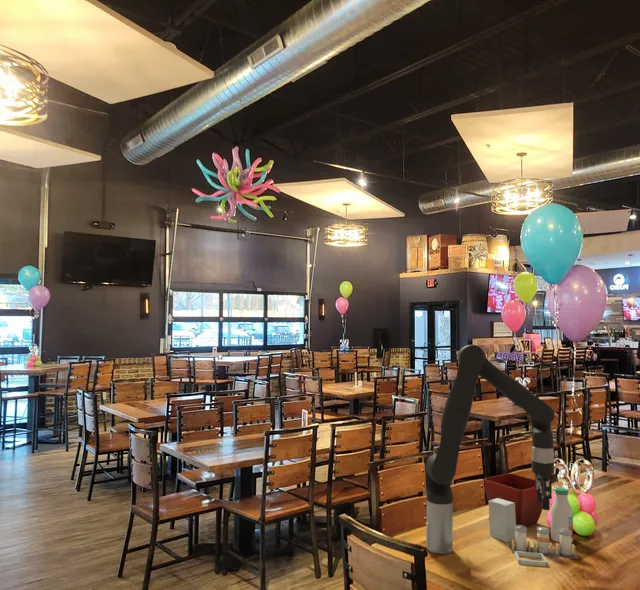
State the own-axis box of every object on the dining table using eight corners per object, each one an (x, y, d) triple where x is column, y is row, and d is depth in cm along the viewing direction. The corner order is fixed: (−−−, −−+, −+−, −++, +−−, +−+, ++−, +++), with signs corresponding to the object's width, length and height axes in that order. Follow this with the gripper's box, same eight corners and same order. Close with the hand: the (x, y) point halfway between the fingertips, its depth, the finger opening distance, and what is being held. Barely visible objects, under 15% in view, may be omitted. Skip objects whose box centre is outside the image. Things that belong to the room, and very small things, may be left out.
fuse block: (512, 557, 194) (512, 544, 195) (508, 549, 201) (508, 537, 201) (579, 563, 191) (579, 549, 191) (573, 554, 198) (573, 542, 198)
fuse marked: (538, 553, 194) (538, 530, 195) (535, 549, 198) (535, 526, 199) (550, 554, 194) (550, 531, 194) (547, 550, 198) (547, 527, 198)
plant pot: (550, 524, 228) (549, 483, 229) (521, 534, 217) (521, 490, 218) (510, 511, 244) (510, 472, 245) (481, 519, 233) (482, 478, 234)
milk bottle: (563, 548, 204) (563, 492, 205) (546, 541, 210) (546, 487, 212) (577, 545, 207) (577, 490, 208) (560, 537, 214) (560, 485, 215)
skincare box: (516, 543, 207) (516, 502, 208) (506, 546, 204) (506, 505, 205) (498, 536, 214) (498, 496, 215) (488, 539, 211) (488, 499, 212)
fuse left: (516, 551, 196) (516, 528, 196) (514, 547, 200) (514, 524, 200) (528, 552, 195) (528, 529, 195) (525, 548, 199) (525, 525, 199)
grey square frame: (518, 568, 186) (518, 559, 186) (514, 559, 193) (514, 550, 193) (547, 570, 184) (547, 562, 184) (542, 561, 192) (542, 553, 192)
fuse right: (561, 555, 193) (561, 532, 194) (558, 551, 197) (557, 528, 198) (573, 556, 193) (573, 532, 193) (569, 551, 197) (569, 528, 197)
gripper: (527, 454, 206) (527, 499, 205) (536, 463, 192) (536, 511, 191) (548, 455, 204) (549, 500, 204) (559, 465, 190) (559, 513, 190)
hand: (543, 505), depth 197 cm, fingers open, 8 cm apart
